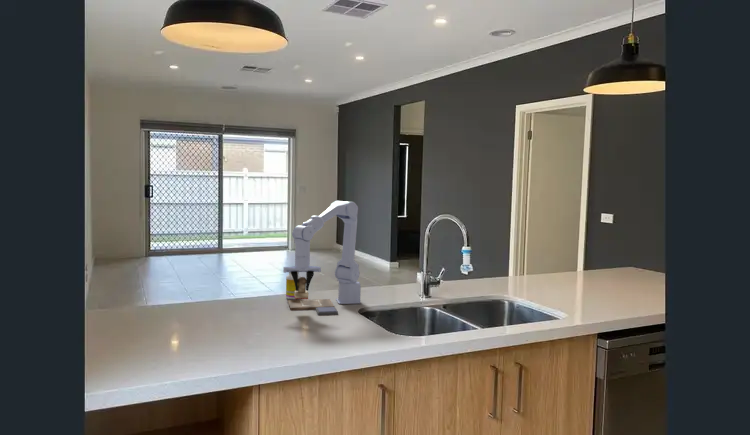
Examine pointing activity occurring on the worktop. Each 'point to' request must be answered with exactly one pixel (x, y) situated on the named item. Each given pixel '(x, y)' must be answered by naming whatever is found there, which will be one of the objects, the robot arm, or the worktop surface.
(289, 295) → the supplement bottle
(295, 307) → the board
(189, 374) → the worktop surface
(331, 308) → the ink pad
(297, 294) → the stamp
